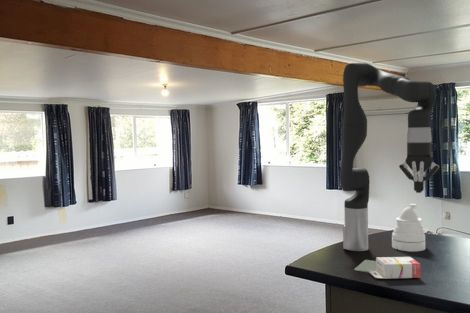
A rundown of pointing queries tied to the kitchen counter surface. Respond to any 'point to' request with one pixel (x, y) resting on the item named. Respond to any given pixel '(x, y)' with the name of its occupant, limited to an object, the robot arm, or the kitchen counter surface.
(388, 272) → the ink cartridge box
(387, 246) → the kitchen counter surface
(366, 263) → the mat
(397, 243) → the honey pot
